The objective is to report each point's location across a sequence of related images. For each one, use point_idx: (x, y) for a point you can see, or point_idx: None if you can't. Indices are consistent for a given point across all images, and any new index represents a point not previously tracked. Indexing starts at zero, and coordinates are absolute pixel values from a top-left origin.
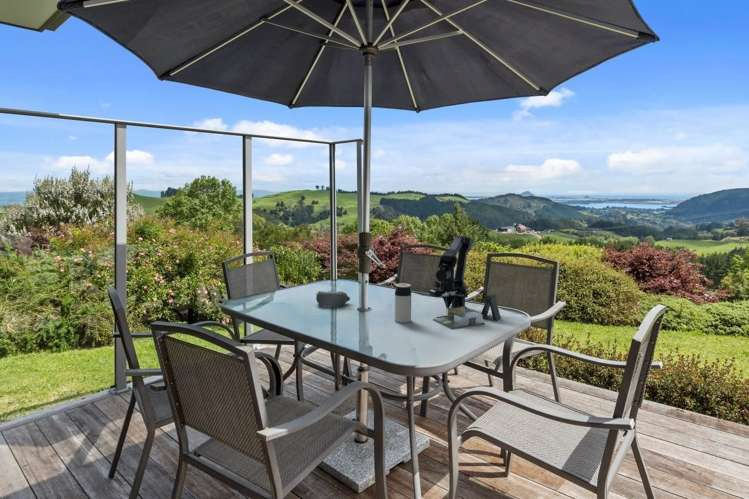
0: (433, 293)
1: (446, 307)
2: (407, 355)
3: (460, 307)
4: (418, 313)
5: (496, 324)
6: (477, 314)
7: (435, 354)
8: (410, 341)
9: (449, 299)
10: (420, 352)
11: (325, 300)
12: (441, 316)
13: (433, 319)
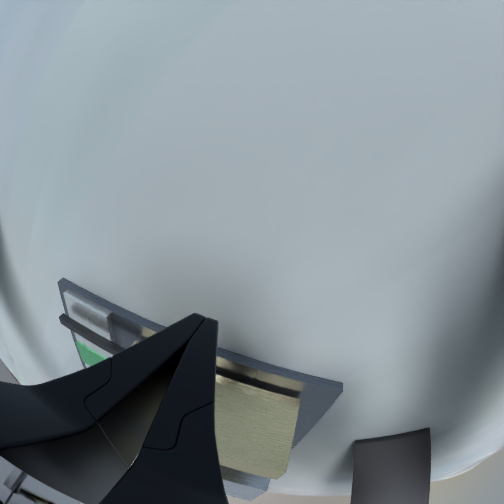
0: None
1: (188, 320)
2: (7, 360)
3: (228, 466)
4: (59, 68)
5: (309, 479)
6: (234, 493)
7: None
8: (3, 336)
9: (123, 469)
10: (20, 373)
11: None
12: (87, 337)
13: (59, 290)
